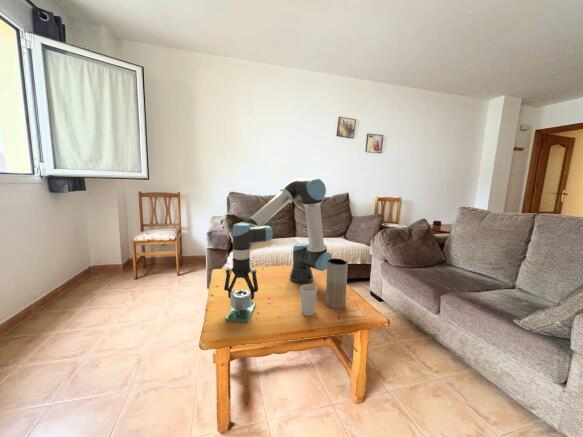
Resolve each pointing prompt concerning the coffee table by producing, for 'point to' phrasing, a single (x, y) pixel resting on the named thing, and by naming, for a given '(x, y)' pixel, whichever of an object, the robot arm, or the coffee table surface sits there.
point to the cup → (308, 299)
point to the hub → (240, 300)
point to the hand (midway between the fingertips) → (241, 304)
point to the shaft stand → (240, 313)
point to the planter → (336, 283)
